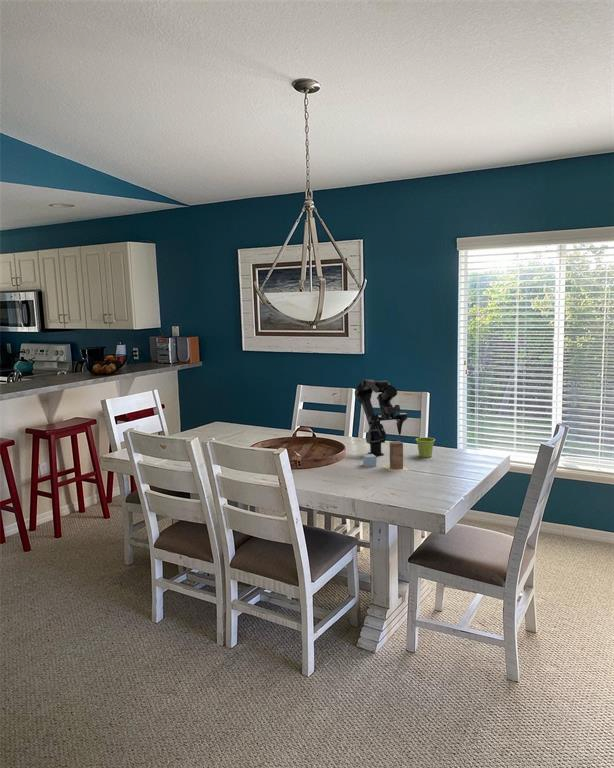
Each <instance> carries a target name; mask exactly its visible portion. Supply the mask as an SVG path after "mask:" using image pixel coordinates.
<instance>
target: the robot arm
mask: <svg viewBox="0 0 614 768" xmlns="http://www.w3.org/2000/svg"><path fill="white" fill-rule="evenodd" d="M360 381H361V382H360V383H359V384H358V385H357V386H355V389H354V390H355V391H354V396H355V398H356V400H357V402H358V403H359V404H361V405H362V408H363V411H364V414H365V418H366V422H367V424H368V427H369V428H368V431H367V436H366V437H365V441H366V443H367V444H369V451H368V452H367V453H369V454H373V455H375V456H376V457H377V455H378V456H384V455H385V453H383V452H382V444H383V443H384V444H385V443H386V440H387V439H386V438H387V437H386V436H387V433H386V431H385V428H384V425H383V424H382V423H381V422H382V421H396V427H397V433H398V436H401V434H402V429H403V423H404V422H406V420H408V419H409V415H408V414H407V413H406V412H400V411H401V406H400V404H395V405H393V404H392V400H394V398H395V397H396V396H397V395H398V390H397V389H396V388H395V387H394V386H393V385H392V384H390V382H389V381H388V380H374V379H371V378H368V379H367V378H365V379H362V380H360ZM373 392H374V393H375V394H377V393H378V395H377V397H376V400H378V406H379V409H378V410H379V413H380V416H379V414H376V413H375V410H374V407H373V404H372V401H371V399H372V397H373ZM398 412H400V413H398ZM397 413H398V414H397ZM396 414H397V415H396Z"/></svg>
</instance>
